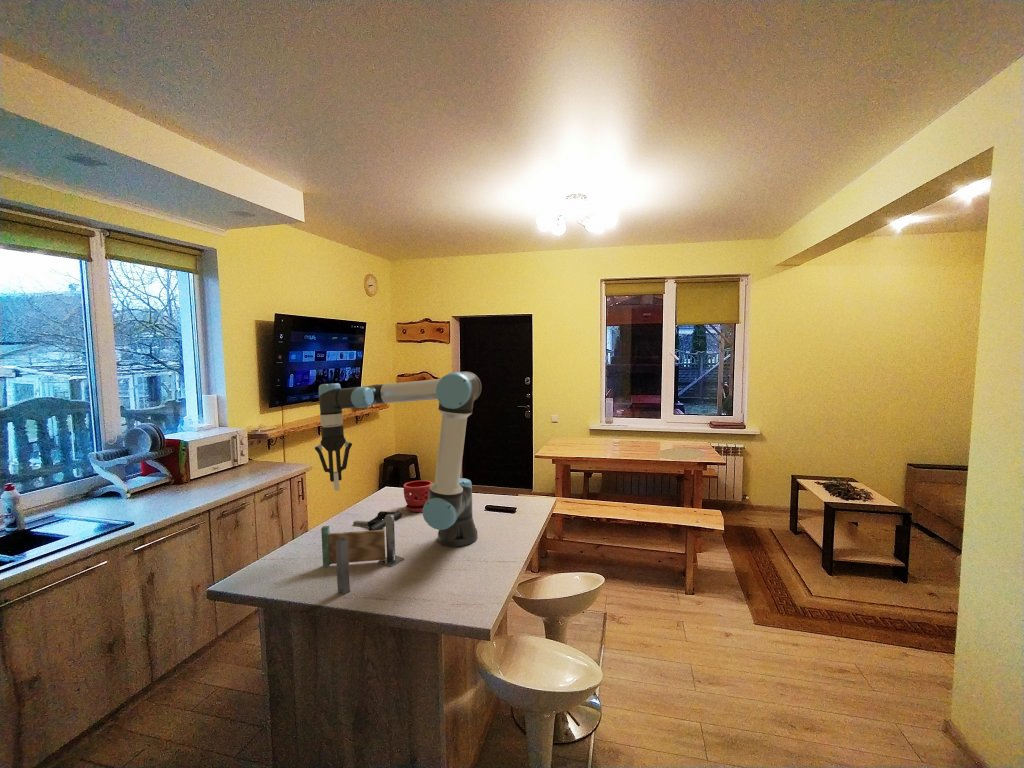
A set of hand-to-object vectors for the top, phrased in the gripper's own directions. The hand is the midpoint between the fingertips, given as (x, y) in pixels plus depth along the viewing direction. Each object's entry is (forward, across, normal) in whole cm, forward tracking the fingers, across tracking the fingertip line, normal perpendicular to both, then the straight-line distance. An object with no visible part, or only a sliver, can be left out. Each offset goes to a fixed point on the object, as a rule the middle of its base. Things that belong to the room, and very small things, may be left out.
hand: (336, 489), depth 158 cm
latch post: (+24, +4, +32) cm, 40 cm away
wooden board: (+22, -2, +15) cm, 27 cm away
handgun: (+22, -16, -18) cm, 33 cm away
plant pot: (+21, -38, -26) cm, 50 cm away
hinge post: (+23, -14, +20) cm, 33 cm away
